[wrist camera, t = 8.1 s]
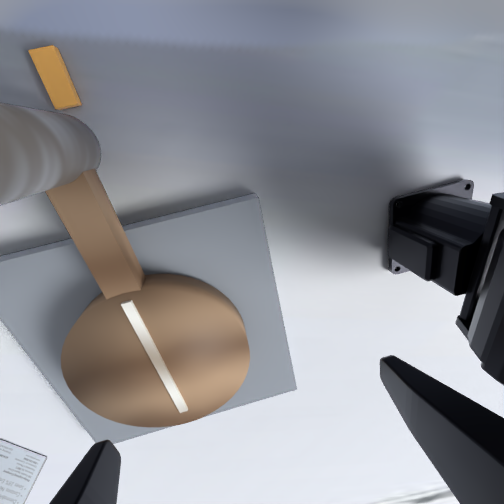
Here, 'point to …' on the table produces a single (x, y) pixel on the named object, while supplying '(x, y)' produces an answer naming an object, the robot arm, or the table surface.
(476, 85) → the table surface
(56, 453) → the table surface
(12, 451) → the light bulb box
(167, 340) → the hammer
